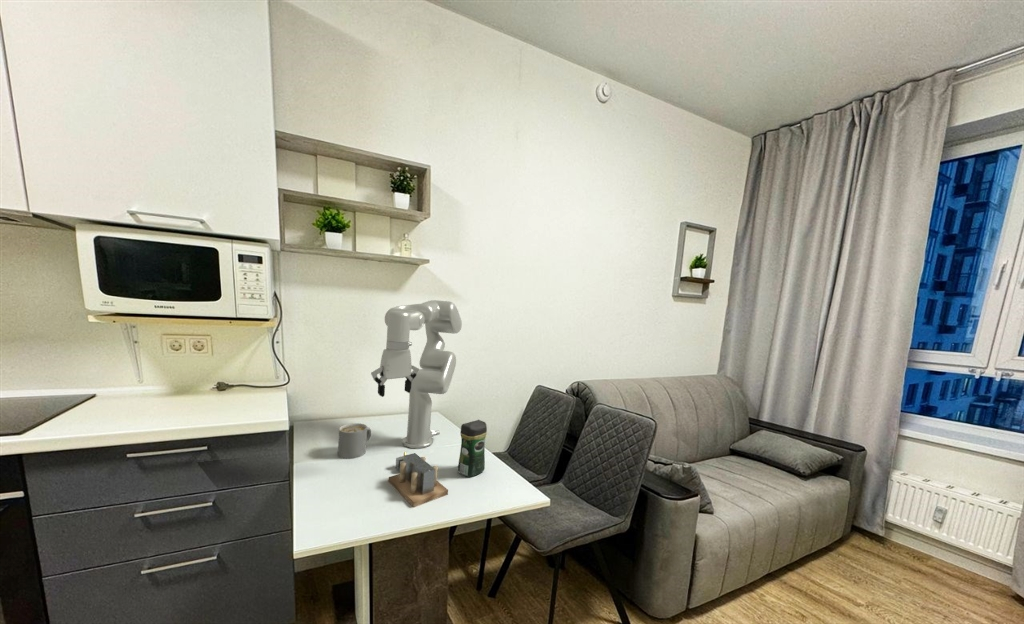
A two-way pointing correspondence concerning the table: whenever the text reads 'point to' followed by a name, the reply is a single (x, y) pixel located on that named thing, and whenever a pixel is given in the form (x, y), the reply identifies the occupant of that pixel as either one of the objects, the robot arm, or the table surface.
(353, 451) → the coffee mug
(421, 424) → the robot arm
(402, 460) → the slot block
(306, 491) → the table surface
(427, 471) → the steel bar
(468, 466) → the coffee jar
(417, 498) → the rack
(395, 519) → the table surface
